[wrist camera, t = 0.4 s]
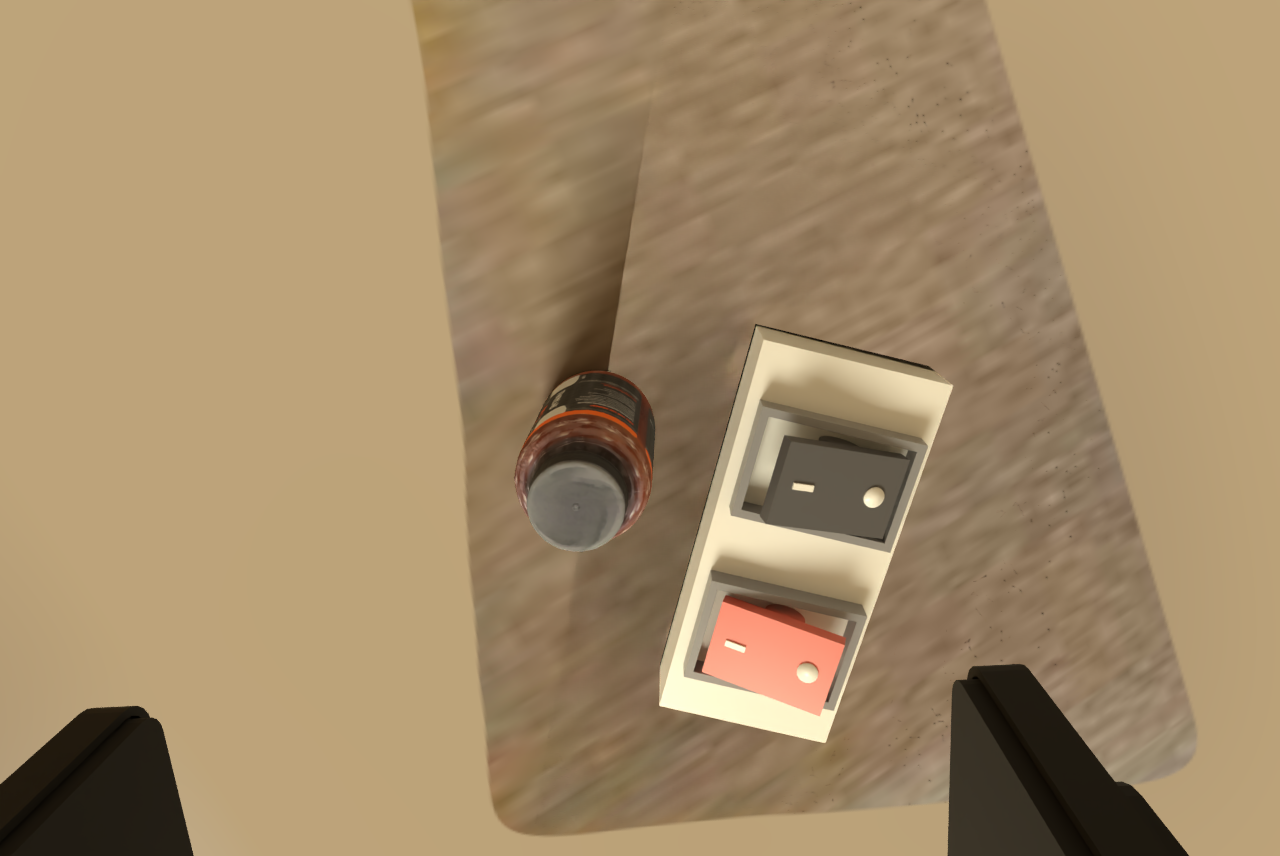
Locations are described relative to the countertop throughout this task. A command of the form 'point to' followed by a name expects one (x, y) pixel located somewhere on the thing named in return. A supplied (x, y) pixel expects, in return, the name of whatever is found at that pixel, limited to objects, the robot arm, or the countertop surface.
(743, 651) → the red rocker
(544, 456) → the supplement bottle
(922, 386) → the rocker switch panel
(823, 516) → the black rocker
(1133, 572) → the countertop surface
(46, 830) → the robot arm
